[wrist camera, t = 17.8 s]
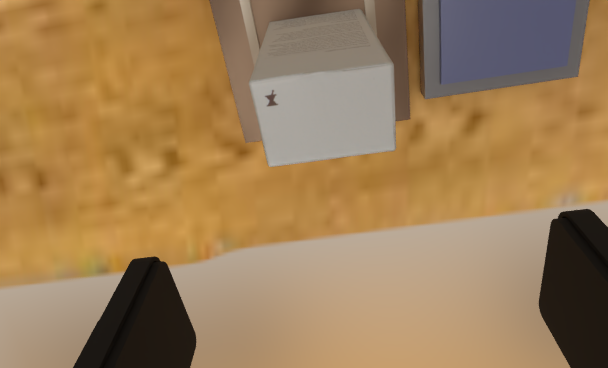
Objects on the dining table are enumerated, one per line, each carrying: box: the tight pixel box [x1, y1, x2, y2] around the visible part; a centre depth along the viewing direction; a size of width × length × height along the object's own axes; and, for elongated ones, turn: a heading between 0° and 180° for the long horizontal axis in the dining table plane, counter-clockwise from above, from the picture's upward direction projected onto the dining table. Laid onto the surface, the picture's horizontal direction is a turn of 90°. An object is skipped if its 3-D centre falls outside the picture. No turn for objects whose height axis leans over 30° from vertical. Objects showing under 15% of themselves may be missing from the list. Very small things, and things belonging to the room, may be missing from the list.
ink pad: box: [418, 0, 590, 99], centre depth 28 cm, size 10×9×2 cm
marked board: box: [210, 0, 410, 143], centre depth 30 cm, size 12×12×1 cm
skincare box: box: [249, 9, 396, 167], centre depth 24 cm, size 6×4×12 cm
